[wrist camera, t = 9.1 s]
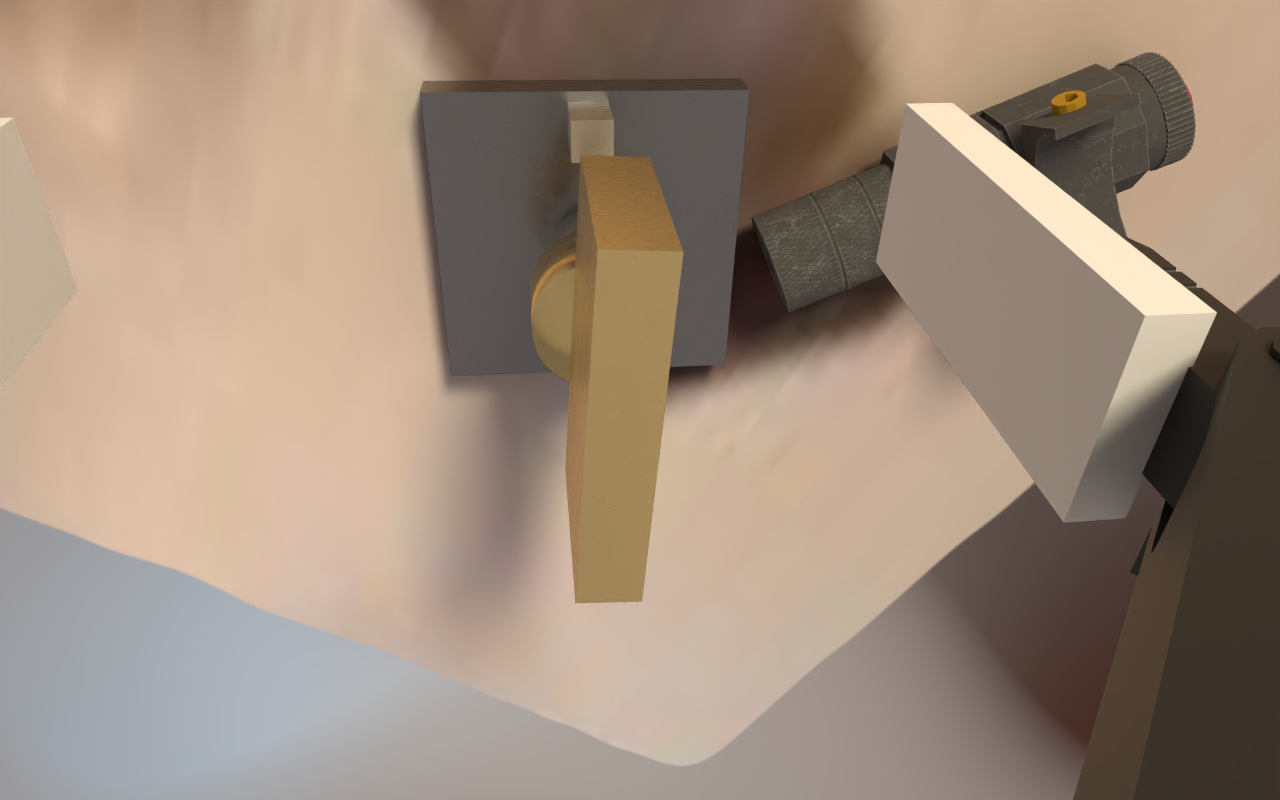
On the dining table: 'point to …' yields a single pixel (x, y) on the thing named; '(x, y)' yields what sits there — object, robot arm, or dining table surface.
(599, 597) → the lever handle
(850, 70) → the dining table surface
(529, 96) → the post base
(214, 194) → the dining table surface
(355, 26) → the dining table surface
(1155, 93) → the laser sight
